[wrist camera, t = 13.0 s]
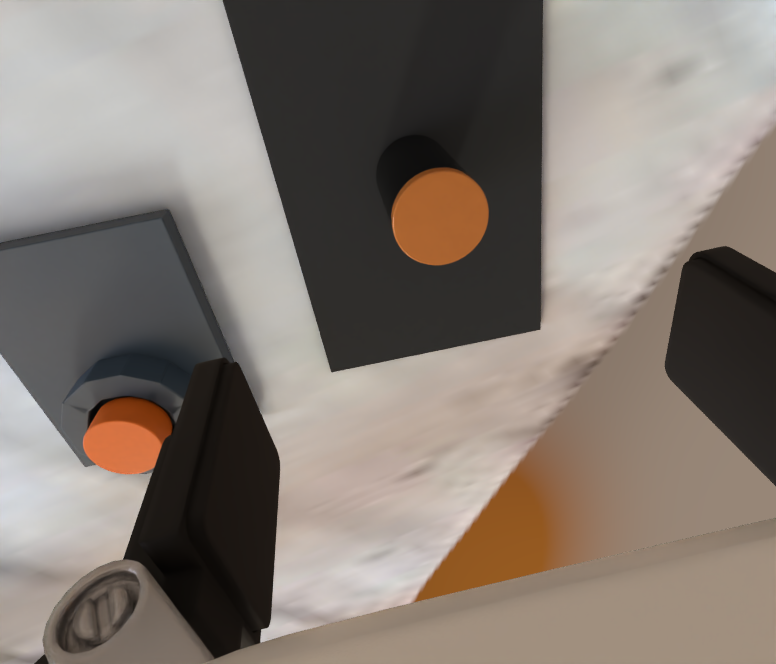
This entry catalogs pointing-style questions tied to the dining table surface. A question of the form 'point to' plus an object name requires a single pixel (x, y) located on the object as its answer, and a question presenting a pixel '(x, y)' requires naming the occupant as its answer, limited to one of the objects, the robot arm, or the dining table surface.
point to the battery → (430, 201)
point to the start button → (127, 435)
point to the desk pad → (375, 133)
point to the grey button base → (104, 319)
